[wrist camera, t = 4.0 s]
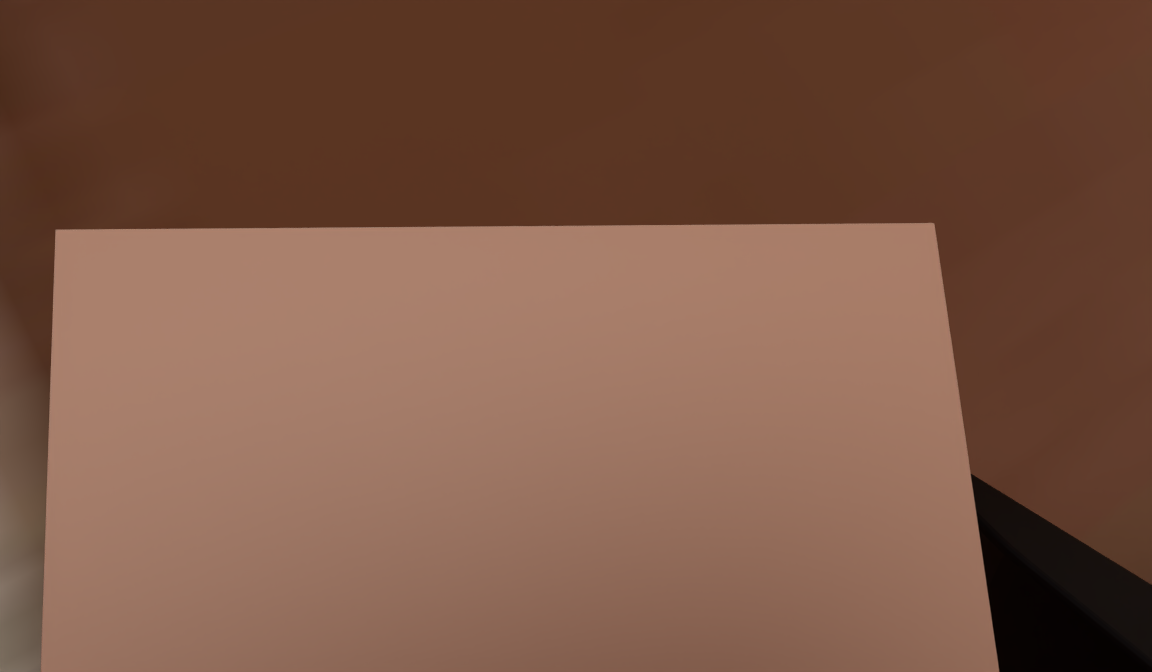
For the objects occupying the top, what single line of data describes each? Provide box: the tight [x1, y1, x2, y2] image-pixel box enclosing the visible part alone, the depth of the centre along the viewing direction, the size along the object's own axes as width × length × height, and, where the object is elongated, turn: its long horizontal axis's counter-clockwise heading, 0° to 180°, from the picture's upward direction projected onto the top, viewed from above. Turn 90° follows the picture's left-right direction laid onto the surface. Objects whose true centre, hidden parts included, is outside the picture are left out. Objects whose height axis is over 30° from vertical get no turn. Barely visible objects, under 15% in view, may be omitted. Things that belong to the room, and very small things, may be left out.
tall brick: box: [41, 223, 999, 672], centre depth 11 cm, size 6×6×11 cm
